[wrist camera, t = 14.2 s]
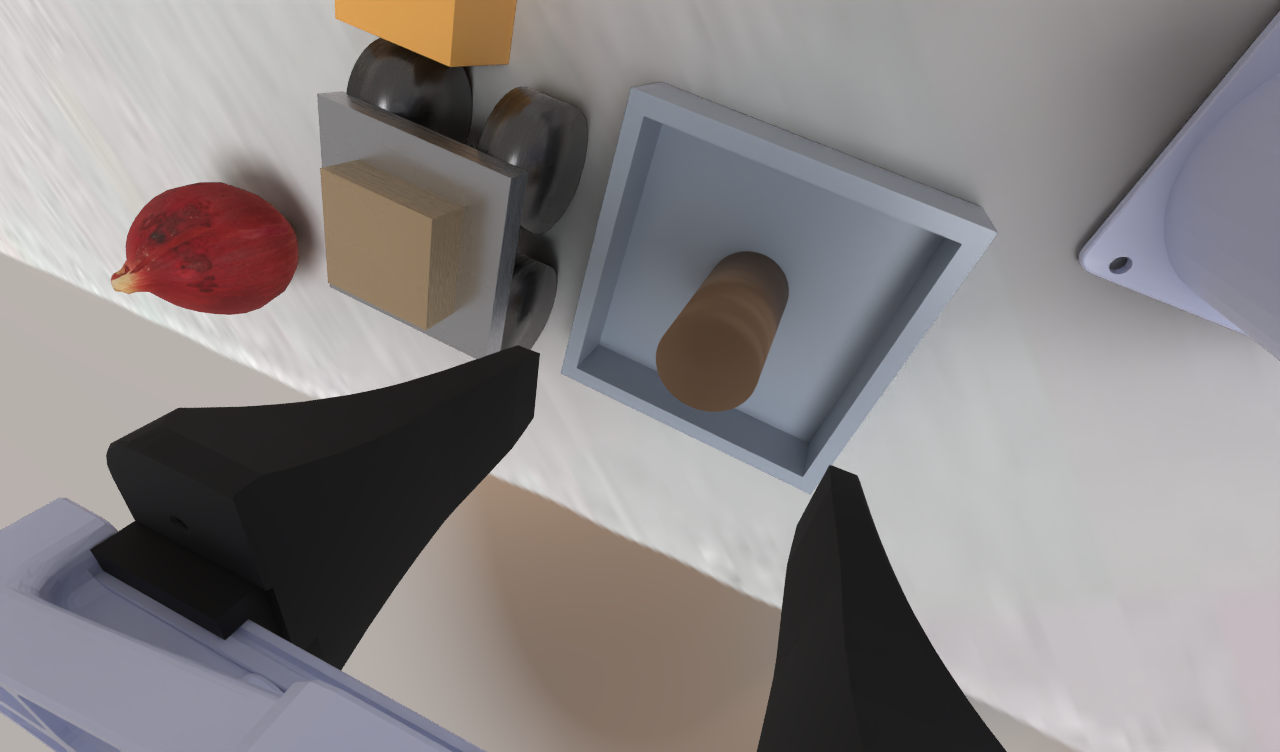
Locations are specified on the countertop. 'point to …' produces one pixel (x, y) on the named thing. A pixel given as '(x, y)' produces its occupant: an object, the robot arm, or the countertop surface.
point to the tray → (797, 241)
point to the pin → (724, 333)
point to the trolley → (444, 198)
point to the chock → (438, 27)
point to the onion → (209, 250)
